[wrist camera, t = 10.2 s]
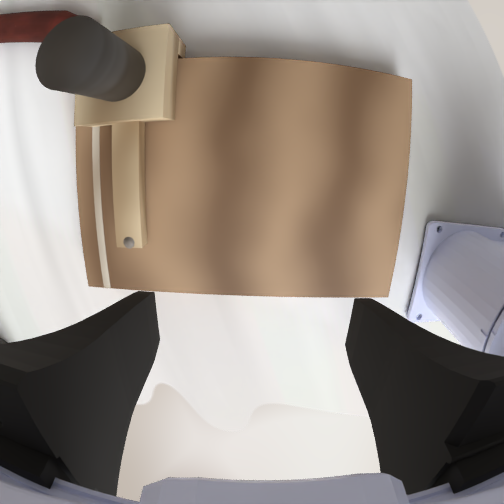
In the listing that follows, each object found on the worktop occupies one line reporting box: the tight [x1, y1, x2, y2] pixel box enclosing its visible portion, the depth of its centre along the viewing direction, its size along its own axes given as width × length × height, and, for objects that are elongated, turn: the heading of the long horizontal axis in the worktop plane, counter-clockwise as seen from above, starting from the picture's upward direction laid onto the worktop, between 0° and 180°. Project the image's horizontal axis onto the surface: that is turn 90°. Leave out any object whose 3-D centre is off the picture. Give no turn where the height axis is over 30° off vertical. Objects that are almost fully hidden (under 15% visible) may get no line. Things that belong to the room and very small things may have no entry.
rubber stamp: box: [36, 16, 186, 249], centre depth 14 cm, size 5×12×9 cm, turn 178°
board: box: [76, 57, 412, 297], centre depth 18 cm, size 20×14×2 cm
